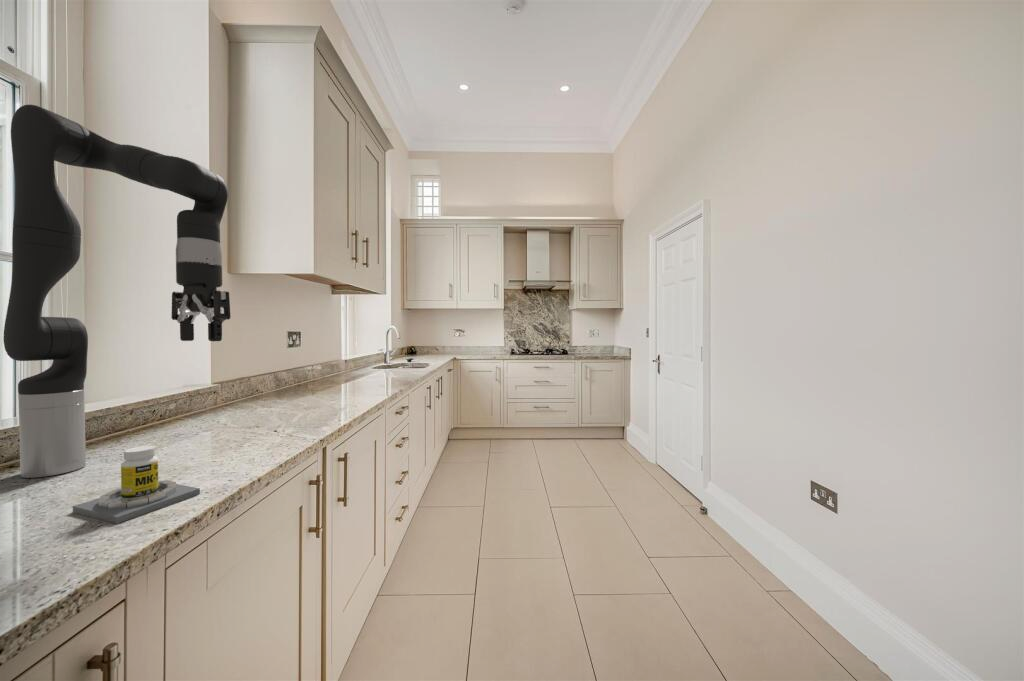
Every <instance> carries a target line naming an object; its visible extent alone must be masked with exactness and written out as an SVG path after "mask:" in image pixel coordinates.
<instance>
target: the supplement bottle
mask: <svg viewBox="0 0 1024 681" xmlns="http://www.w3.org/2000/svg"><path fill="white" fill-rule="evenodd" d="M156 453H157V452H156V446H155V445H142V446H135V447H131V448H129V449H128V448H127V449H125V450H124V452H123V459H124V460H123V462H122V463H121V464H120V480H121V482H120V485H121V486H120V488H121V498H122V500H130V499H135V498H140V497H145V496H148V495H151V494H155V493H158V481H159V458H158V457H157V456H156Z"/></svg>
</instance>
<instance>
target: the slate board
mask: <svg viewBox="0 0 1024 681" xmlns="http://www.w3.org/2000/svg"><path fill="white" fill-rule="evenodd" d="M162 490H164V489H162V488H158V492H160V491H162ZM200 494H201V488H200V487H195V486H189V485H185V484H177V483H176V492H175V493H173V494H172V495H170V496H168V497H167V498H164V499H161V500H158V501H155V502H152V503H149V504H145V505H141V506H136V507H131V508H126V509H112V510H107V509H102V508H98V501H99V498H100V497H98V498H96V499H92V500H88V501H86V502H81V503H79V504H76V505H73V506H72V513H75V514H79V515H82V516H87V517H90V518H94V519H98V520H100V521H101V520H102V521H106V522H110V523H114V524H119V523H122V522H126V521H128V520H131V519H134V518H136V517H139V516H142V515H144V514H147V513H151V512H153V511H156V510H158V509H162V508H164V507H167V506H170V505H174V504H177V503H178V502H181V501H183V500H186V499H189V498H192V497H194V496H197V495H200ZM113 500H122V498H121V496H119V497H117V498H115V499H113Z"/></svg>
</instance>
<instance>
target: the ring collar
mask: <svg viewBox="0 0 1024 681" xmlns="http://www.w3.org/2000/svg"><path fill="white" fill-rule="evenodd" d="M176 484H177V482H176V481H172V480H166V479H165V480H158V488H162V489H164V490H162V491H160V492H158V493H155V494H151V495H148V496H145V497H140V498H135V499H130V500H113V499H115V498H117V497H119V496H121V487H120V488H116V489H113V490H111V491H108V492H107V493H105V494H102V495H101V496H99V497H98V498H99V501H98V508H102V509H107V510H112V509H126V508H131V507H136V506H141V505H145V504H149V503H152V502H155V501H158V500H161V499H164V498H167V497H168V496H170V495H172V494H173V493H175V492H176Z"/></svg>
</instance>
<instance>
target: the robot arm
mask: <svg viewBox="0 0 1024 681" xmlns="http://www.w3.org/2000/svg"><path fill="white" fill-rule="evenodd" d="M10 140H11V141H10V142H11V152H12V160H13V161H12V163H13V171H14V172H13V173H14V212H13V220H12V238H11V241H12V242H11V245H12V246H11V247H12V250H11V251H12V252H11V254H12V259H11V260H12V264H11V266H12V267H11V284H10V292H9V298H8V305H7V308H6V313H5V314H6V315H5V320H4V326H3V336H2V337H3V338H2V339H3V345H4V350H5V353H6V354H7V356H9V357H10V359H12V360H14V361H17V362H30V361H31V362H32V361H33V362H34V361H52V364H51V366H49V368H47V369H45V370H43V371H42V372H40V373H36V374H34V375H32V376H28V377H25V378H23V379H21V380H19V382H18V384H17V393H18V394H17V398H18V427H19V431H18V432H19V471H20V476H19V477H20V478H24V479H25V478H26V479H27V478H28V479H31V478H32V479H34V478H43V477H49V476H51V477H52V476H55V475H56V476H57V475H61V474H66V473H69V472H73V471H77V470H80V469H82V468H84V467H86V464H87V461H86V460H87V458H86V456H87V455H86V452H87V451H86V447H87V446H86V422H85V421H86V415H85V414H86V412H85V407H86V406H85V381H86V377H87V371H88V370H87V368H88V348H89V337H88V331H87V328H86V326H85V324H84V323H83V322H82V321H81V320H79V319H78V318H74V317H65V316H63V317H62V316H61V317H58V316H57V317H56V316H42V310H43V307H44V306H43V305H44V302H45V300H46V297H47V296H48V294H49V293H50V291H51V290H52V289H53V287H55V286H56V285H57V283H58V282H59V281H61V280H62V279H63V278H64V277H65V276H66V275H67V274H68V273H69V272H70V271H71V270H72V269H73V268H74V267H75V265H77V263H78V261H79V260H80V256H81V244H82V229H81V225H80V223H79V220H78V219H77V216H76V214H75V213H74V211H73V209H72V208H71V206H70V205H69V203H68V202H67V200H66V198H65V197H64V196H63V194H62V192H61V190H60V187H59V186H58V183H57V179H56V174H55V173H56V172H55V170H56V168H55V161H56V162H58V163H60V164H63V165H66V166H67V165H68V166H71V167H79V168H86V169H94V170H95V169H96V170H99V171H101V170H102V171H106V172H109V173H114V174H116V175H120V176H122V177H124V178H126V179H127V180H128V179H129V180H131V181H135V182H137V183H139V184H143V185H146V186H149V187H153V188H156V189H159V190H165V191H169V192H172V193H175V194H178V195H180V196H183V197H185V198H187V199H190V200H192V201H194V205H193V208H192V209H183V210H181V211H179V212H178V213H177V216H176V246H175V278H176V279H175V282H176V284H177V285H178V286H182V288H183V289H182V292H181V291H173V292H171V320H173V321H177V323H179V338H180V341H182V342H192V341H194V340H195V327H194V325H195V324H194V322H195V320H196V317H197V316H199V315H200V314H202V315H204V316H205V317H206V319H207V321H208V323H207V326H208V327H207V337H208V338H207V339H208V341H209V342H221V341H222V339H223V323H224V322H225V321H226V320H230V319H231V303H230V302H231V301H230V292H229V291H228V290H223V289H217V288H221V287H222V286H223V255H222V248H221V226H220V225H221V222H222V220H223V219H222V218H223V216H224V212H225V209H226V206H227V203H228V197H229V190H228V186H227V184H226V182H225V180H224V179H223V178H222V177H221V176H220V175H219V174H217V173H215V172H213V171H211V169H208V168H206V167H203V166H202V165H201V164H198V163H196V162H193V161H191V160H188V159H185V158H182V157H179V156H173V155H166V154H163V153H160V152H157V151H153V150H150V149H147V148H144V147H140V146H137V145H133V144H132V145H131V144H120V143H117V142H114V141H111V140H108V139H107V138H105V137H103V136H101V135H99V134H98V133H96V132H94V131H92V130H89V129H88V128H86V127H85V126H83V125H82V124H80V123H78V122H76V121H74V120H71V119H70V118H68V117H64V116H63V115H60V114H58V113H55V112H54V111H51V110H48V109H47V108H44V107H41V106H39V105H34V104H24V105H22V106H19V108H17V110H16V111H14V113H13V116H12V118H11V125H10ZM222 311H223V313H222ZM178 312H179V313H178Z"/></svg>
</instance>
